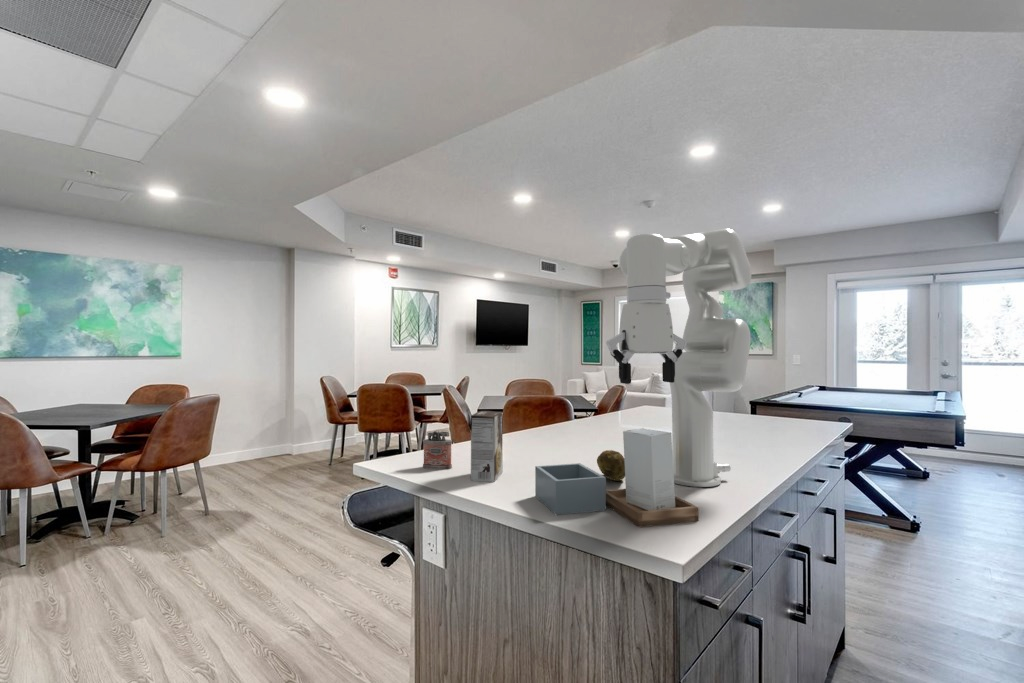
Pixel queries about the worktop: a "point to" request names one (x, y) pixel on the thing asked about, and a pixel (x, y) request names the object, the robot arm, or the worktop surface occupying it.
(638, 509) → the tray
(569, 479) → the grey open box frame
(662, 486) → the skincare box
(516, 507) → the worktop surface
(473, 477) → the coffee box
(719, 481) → the robot arm
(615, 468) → the potato
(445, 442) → the lighter
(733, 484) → the worktop surface
